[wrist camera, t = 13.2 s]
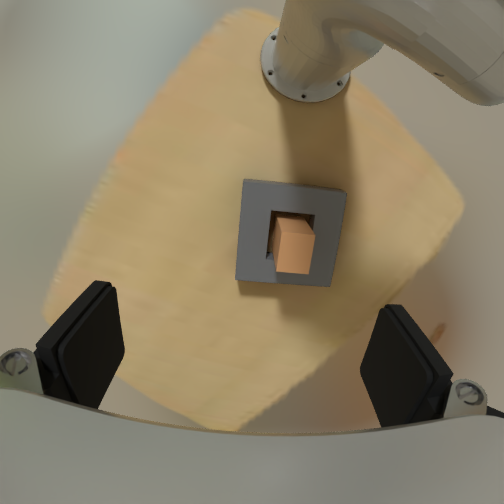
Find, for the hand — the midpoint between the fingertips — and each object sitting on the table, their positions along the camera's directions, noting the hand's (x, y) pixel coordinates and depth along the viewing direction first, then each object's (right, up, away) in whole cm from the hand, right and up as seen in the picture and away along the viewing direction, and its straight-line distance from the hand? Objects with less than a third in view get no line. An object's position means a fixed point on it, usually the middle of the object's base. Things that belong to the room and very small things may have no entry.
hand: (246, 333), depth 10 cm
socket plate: (+5, +6, +34) cm, 35 cm away
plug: (+5, +6, +35) cm, 35 cm away
